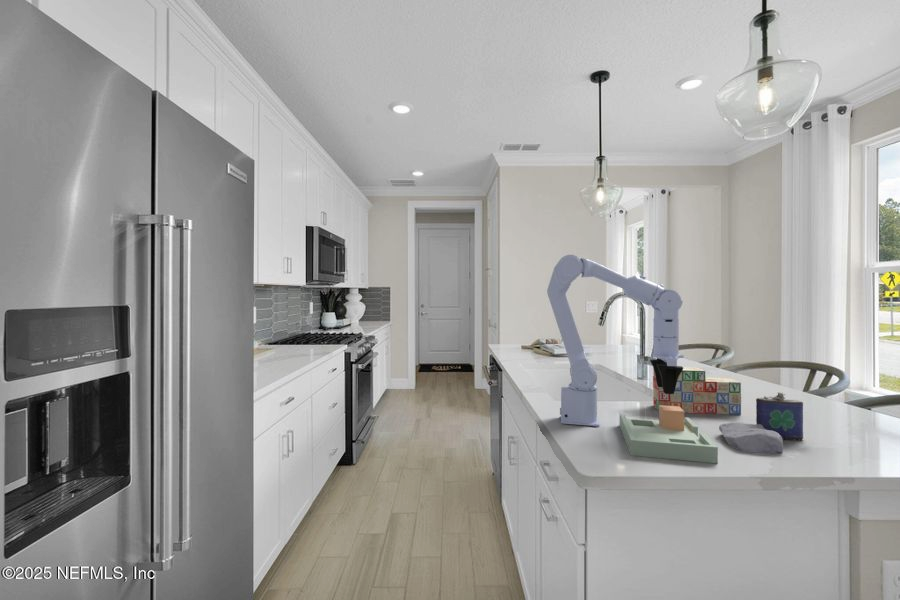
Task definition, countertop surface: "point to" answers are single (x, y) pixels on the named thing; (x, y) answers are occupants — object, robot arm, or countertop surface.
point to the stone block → (751, 437)
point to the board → (667, 441)
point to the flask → (781, 416)
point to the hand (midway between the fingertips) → (665, 390)
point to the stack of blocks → (701, 393)
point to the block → (671, 417)
